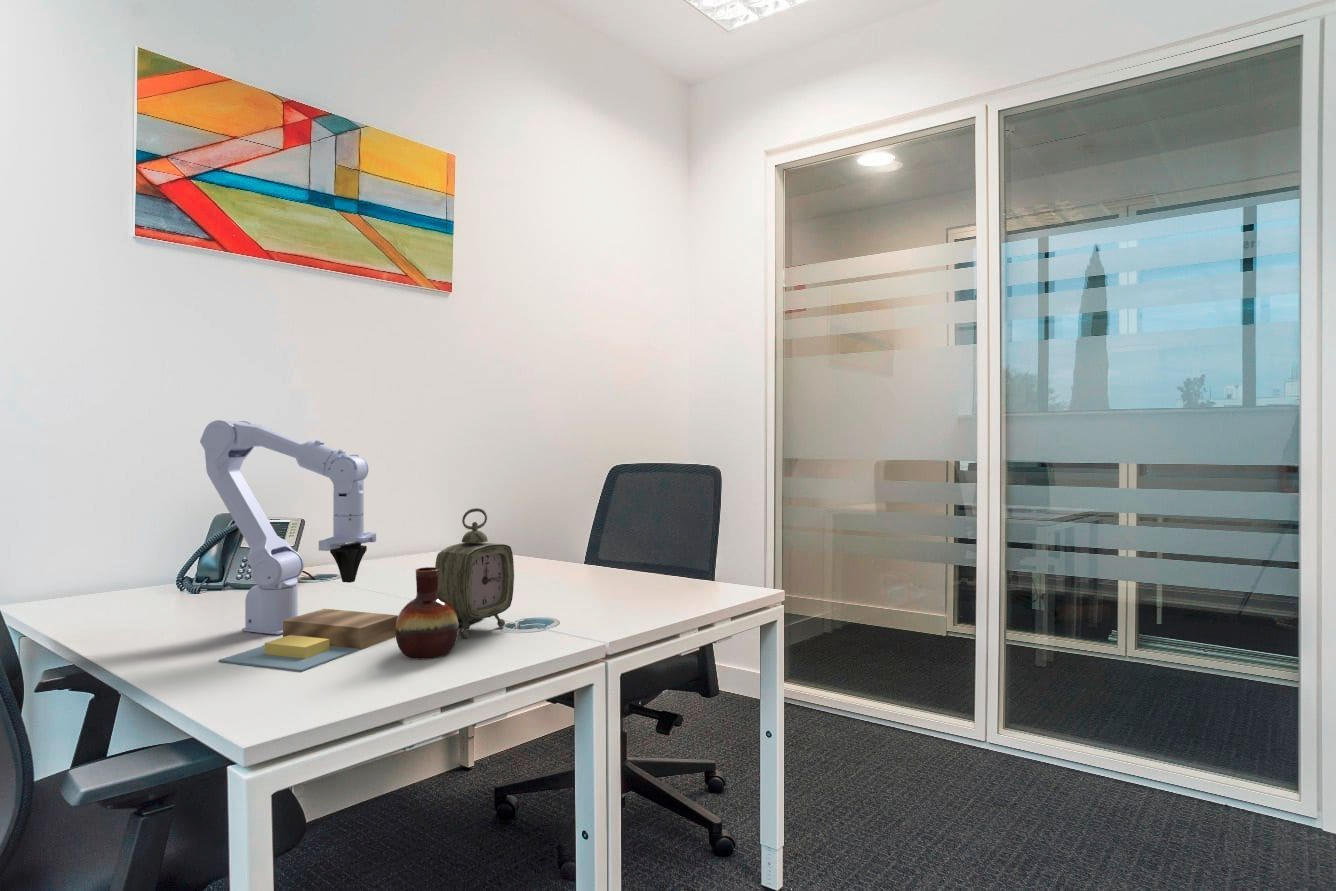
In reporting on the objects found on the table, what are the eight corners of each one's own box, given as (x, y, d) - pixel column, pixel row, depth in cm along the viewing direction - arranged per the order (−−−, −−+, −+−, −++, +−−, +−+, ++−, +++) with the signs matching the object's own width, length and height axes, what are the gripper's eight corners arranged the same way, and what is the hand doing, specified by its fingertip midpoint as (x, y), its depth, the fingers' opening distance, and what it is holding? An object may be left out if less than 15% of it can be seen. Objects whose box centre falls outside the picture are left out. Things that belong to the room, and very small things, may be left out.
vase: (390, 663, 137) (391, 575, 137) (399, 646, 148) (399, 564, 148) (456, 660, 140) (456, 573, 139) (460, 644, 150) (460, 563, 150)
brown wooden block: (282, 641, 152) (282, 620, 152) (324, 628, 162) (324, 608, 162) (360, 649, 146) (360, 628, 146) (398, 635, 156) (398, 615, 156)
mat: (218, 661, 138) (218, 659, 138) (280, 641, 151) (280, 640, 151) (301, 671, 132) (301, 669, 132) (358, 650, 146) (358, 648, 146)
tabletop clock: (464, 642, 152) (464, 512, 152) (430, 636, 156) (430, 510, 156) (513, 626, 164) (514, 506, 164) (481, 621, 169) (481, 504, 169)
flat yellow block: (289, 634, 147) (289, 645, 147) (264, 642, 142) (264, 654, 142) (329, 639, 145) (329, 649, 145) (305, 647, 139) (305, 658, 139)
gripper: (339, 519, 152) (339, 589, 152) (388, 512, 166) (388, 577, 166) (309, 517, 154) (309, 587, 154) (360, 511, 168) (360, 574, 168)
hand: (348, 581), depth 160 cm, fingers closed
